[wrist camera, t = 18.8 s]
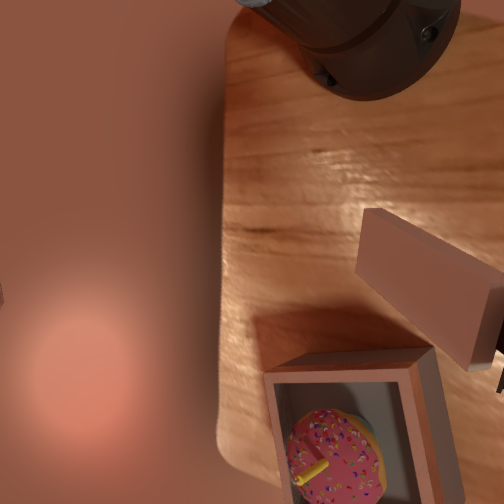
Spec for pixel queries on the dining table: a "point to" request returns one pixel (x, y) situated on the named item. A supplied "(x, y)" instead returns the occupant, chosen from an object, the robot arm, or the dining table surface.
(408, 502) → the gray open box
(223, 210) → the dining table surface
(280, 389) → the collar
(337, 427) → the cupcake
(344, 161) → the dining table surface
